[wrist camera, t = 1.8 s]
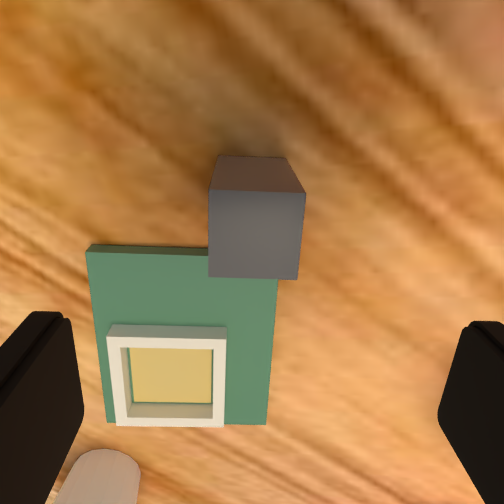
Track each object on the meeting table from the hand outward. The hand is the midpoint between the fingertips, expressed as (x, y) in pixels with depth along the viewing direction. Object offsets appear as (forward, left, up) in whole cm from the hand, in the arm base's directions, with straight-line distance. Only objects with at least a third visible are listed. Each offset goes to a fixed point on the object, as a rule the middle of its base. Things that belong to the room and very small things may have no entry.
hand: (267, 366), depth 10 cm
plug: (0, 0, -16) cm, 16 cm away
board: (+11, -4, -16) cm, 20 cm away
